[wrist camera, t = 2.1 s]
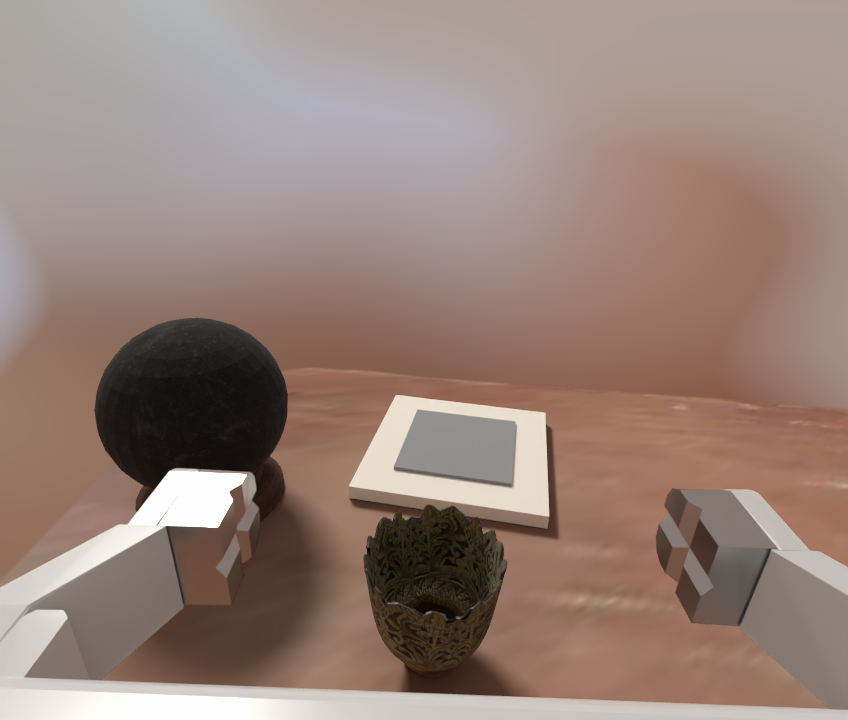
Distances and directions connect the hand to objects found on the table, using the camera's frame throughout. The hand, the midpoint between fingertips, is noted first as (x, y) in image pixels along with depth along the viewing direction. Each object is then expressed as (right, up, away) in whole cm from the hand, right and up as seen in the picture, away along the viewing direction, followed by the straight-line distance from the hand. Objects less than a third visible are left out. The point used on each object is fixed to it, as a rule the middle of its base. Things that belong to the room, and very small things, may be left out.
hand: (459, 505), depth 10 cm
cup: (0, -14, +20) cm, 25 cm away
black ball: (-18, -8, +32) cm, 38 cm away
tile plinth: (+2, -6, +38) cm, 39 cm away
